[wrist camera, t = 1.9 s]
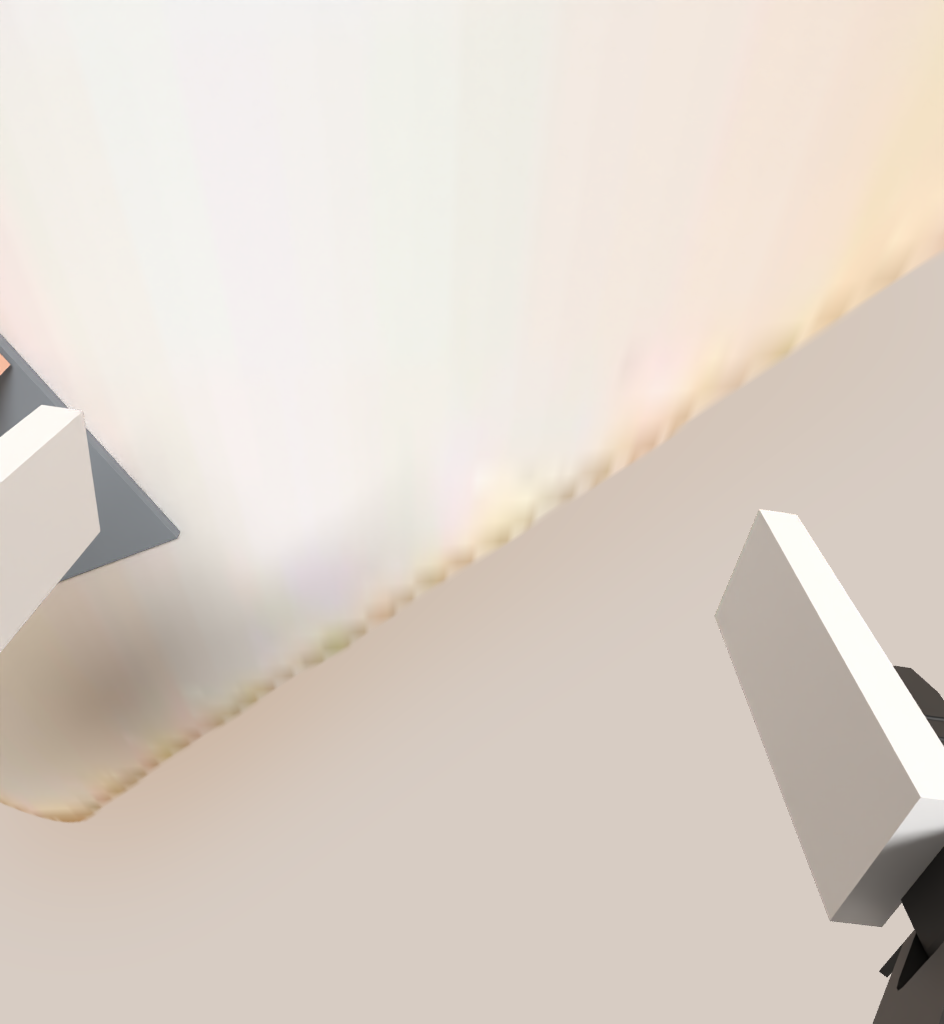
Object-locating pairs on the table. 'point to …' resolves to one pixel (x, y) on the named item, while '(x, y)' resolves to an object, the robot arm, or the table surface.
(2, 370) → the hinged panel
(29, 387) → the card
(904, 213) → the table surface
